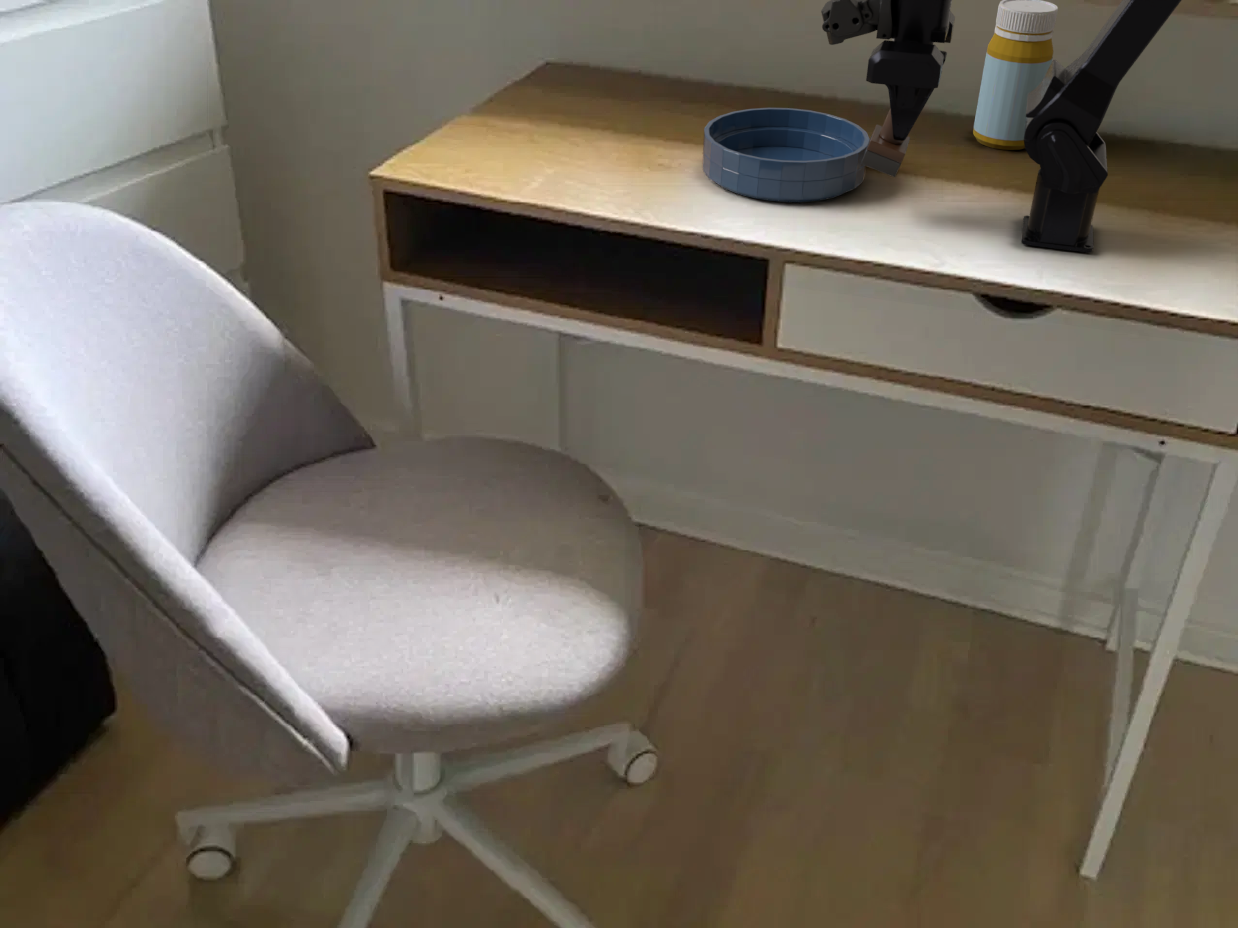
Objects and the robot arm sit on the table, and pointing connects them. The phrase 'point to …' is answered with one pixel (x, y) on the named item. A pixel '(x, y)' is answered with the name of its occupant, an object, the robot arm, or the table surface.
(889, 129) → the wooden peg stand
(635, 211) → the table surface
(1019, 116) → the bottle
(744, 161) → the bowl
